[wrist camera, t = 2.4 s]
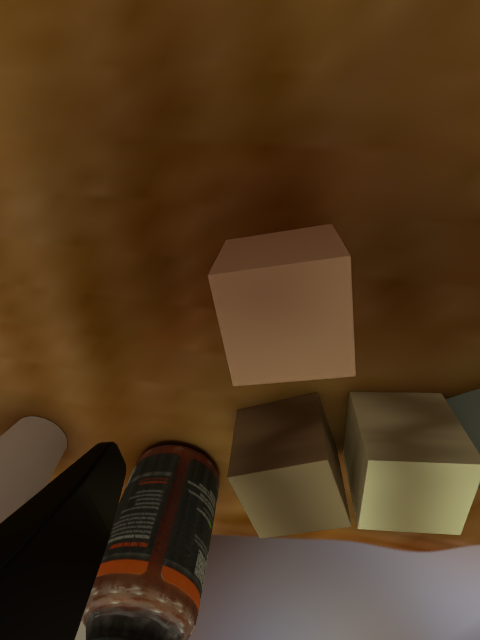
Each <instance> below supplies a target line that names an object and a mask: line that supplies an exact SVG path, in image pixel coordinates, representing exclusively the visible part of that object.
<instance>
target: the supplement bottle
mask: <svg viewBox="0 0 480 640" xmlns="http://www.w3.org/2000/svg"><path fill="white" fill-rule="evenodd" d="M218 488H219V475H218V471H217V470H216V467H215V466H214V464H213V463H212V462H211V461H210V459H208V458H207V457H206V456H205V455H203V454H202V453H200V452H198V451H196V450H194V449H191V448H189V447H185V446H181V445H162V446H157V447H154V448H152V449H150V450H148V451H146V452H145V453H144V454H143V455H142V456H141V457H140V458H139V460H138V461H137V464H136V466H135V468H134V469H133V472H132V474H131V477H130V479H129V481H128V484H127V486H126V488H125V491H124V493H123V495H122V498H121V500H120V503H119V505H118V508H117V512H116V516H115V520H114V524H113V528H112V532H111V535H110V538H109V541H108V544H107V547H106V550H105V553H104V556H103V559H102V562H101V565H100V568H99V570H98V573H97V576H96V579H95V582H94V585H93V588H92V591H91V594H90V596H89V599H88V602H87V605H86V608H85V611H84V614H83V617H82V621H83V624H84V625H85V627H86V640H188V638H189V637H190V636H191V634H192V632H193V630H194V628H195V625H196V620H197V616H198V611H199V605H200V598H201V594H202V587H203V582H204V576H205V570H206V563H207V557H208V551H209V545H210V538H211V533H212V527H213V521H214V515H215V508H216V502H217V497H218Z"/></svg>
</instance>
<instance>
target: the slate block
mask: <svg viewBox="0 0 480 640" xmlns="http://www.w3.org/2000/svg"><path fill="white" fill-rule="evenodd" d="M445 400H446V401H447V403H448V405H449V406H450V408H451V409H452V411H453V413H454V414H455V416H456V417H457V419H458V421H459V422H460V424H461V425H462V427H463V429H464V430H465V432H466V433H467V435H468V437H469V438H470V440H471V441H472V443H473V445H474V446H475V448H476V449H477V451H478V453H479V454H480V388H479V389H476V390H473V391H470V392H467V393H464V394H460V395H457V396H454V397H451V398H448V399H445ZM478 488H479V489H480V483H479V486H478Z"/></svg>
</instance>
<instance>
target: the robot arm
mask: <svg viewBox="0 0 480 640" xmlns="http://www.w3.org/2000/svg"><path fill="white" fill-rule="evenodd" d="M125 475H126V464H125V461H124V459H123V457H122V455H121V452H120V450H119V448H118V446H117V444H116V443H114V442H101V443H98V444H97V445H95V446H94V447H93V448H92V449H90V450H89V451H88V452H87V453H86V454H84V455H83V456H82V457H81V458H79V459H78V460H77V461H76V462H75V463H73V464H72V465H71V466H70V467H68V468H67V469H66V470H65V471H64V472H62V473H61V474H60V475H59V476H58V477H56V478H55V479H54V480H53V481H51V482H50V483H49V484H48V485H47V486H45V487H44V488H43V489H42V490H40V491H39V492H38V493H37V494H36V495H34V496H33V497H32V498H31V499H29V500H28V501H27V502H26V503H25V504H23V505H22V506H21V507H20V508H18V509H17V510H16V511H15V512H14V513H12V514H11V515H10V516H9V517H7V518H6V519H5V520H4V521H3V522H1V523H0V640H75V636H76V634H77V631H78V628H79V625H80V622H81V620H82V617H83V614H84V611H85V608H86V605H87V602H88V599H89V596H90V594H91V591H92V588H93V585H94V582H95V579H96V576H97V573H98V570H99V568H100V565H101V562H102V559H103V556H104V553H105V550H106V547H107V544H108V541H109V538H110V535H111V532H112V528H113V524H114V520H115V516H116V512H117V508H118V504H119V500H120V496H121V492H122V488H123V483H124V479H125Z"/></svg>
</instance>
